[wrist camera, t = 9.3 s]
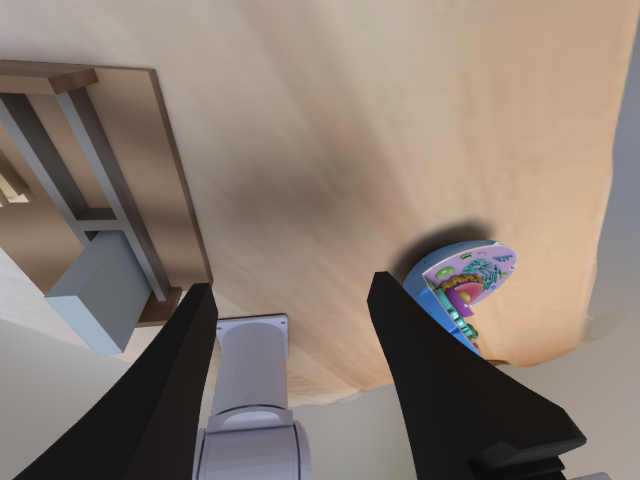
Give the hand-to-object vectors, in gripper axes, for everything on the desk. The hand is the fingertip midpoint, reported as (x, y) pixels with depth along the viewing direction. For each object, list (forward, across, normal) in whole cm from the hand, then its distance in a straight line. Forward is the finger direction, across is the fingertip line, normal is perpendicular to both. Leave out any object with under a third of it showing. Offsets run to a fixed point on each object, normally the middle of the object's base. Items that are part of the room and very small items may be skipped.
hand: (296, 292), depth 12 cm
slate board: (+9, +12, +6) cm, 16 cm away
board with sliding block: (+10, +14, +2) cm, 17 cm away
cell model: (+11, -16, +9) cm, 21 cm away
